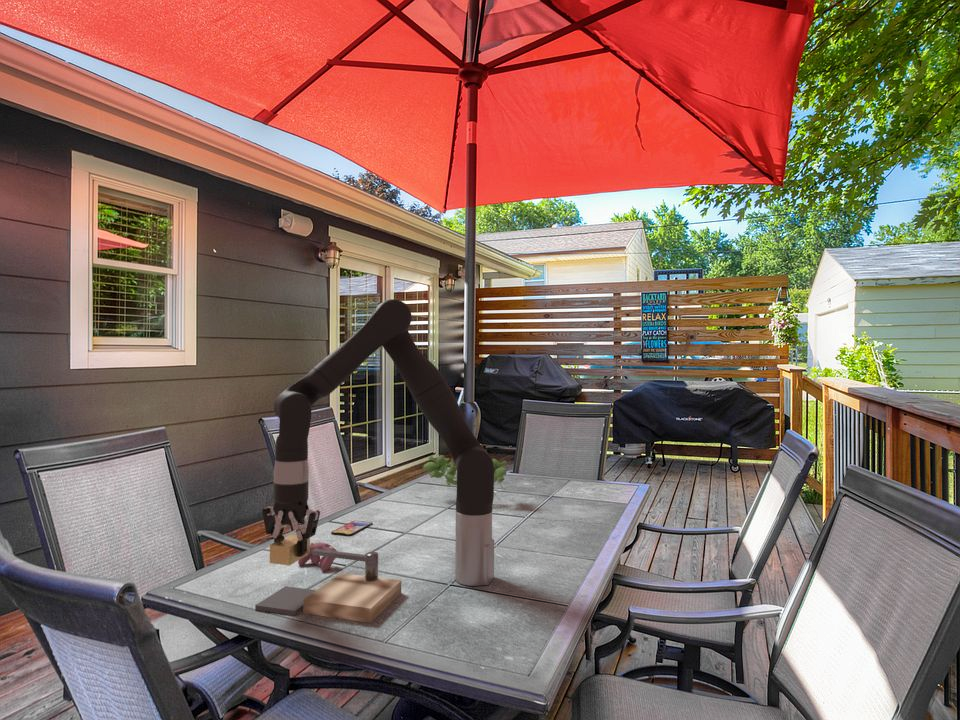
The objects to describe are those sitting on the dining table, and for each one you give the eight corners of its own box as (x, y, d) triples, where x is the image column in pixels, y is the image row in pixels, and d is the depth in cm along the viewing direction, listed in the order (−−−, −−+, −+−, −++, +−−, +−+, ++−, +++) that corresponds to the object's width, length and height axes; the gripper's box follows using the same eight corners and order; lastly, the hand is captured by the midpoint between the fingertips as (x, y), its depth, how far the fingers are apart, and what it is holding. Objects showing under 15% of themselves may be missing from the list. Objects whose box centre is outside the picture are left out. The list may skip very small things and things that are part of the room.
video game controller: (333, 574, 150) (342, 547, 152) (322, 571, 146) (331, 543, 149) (306, 567, 154) (315, 541, 157) (295, 564, 151) (304, 537, 154)
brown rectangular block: (309, 553, 131) (310, 536, 131) (289, 565, 124) (289, 547, 124) (291, 551, 133) (291, 534, 133) (269, 563, 125) (269, 544, 125)
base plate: (401, 593, 134) (401, 580, 134) (370, 622, 118) (370, 608, 118) (340, 585, 138) (340, 573, 138) (303, 613, 123) (303, 599, 123)
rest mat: (322, 595, 132) (322, 591, 132) (295, 615, 122) (295, 610, 122) (285, 590, 135) (285, 586, 135) (255, 609, 124) (255, 605, 124)
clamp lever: (380, 576, 135) (380, 552, 135) (374, 581, 132) (374, 556, 132) (317, 567, 141) (317, 544, 141) (309, 572, 138) (310, 548, 138)
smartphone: (373, 522, 191) (350, 534, 177) (373, 525, 191) (350, 537, 177) (354, 520, 193) (329, 532, 179) (354, 523, 193) (329, 535, 179)
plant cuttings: (433, 510, 235) (413, 486, 218) (443, 473, 244) (425, 447, 228) (514, 519, 222) (500, 494, 206) (521, 479, 232) (509, 453, 215)
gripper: (328, 478, 130) (327, 552, 130) (274, 474, 134) (273, 546, 134) (309, 485, 123) (308, 563, 123) (253, 480, 127) (252, 556, 127)
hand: (290, 554), depth 128 cm, fingers closed on brown rectangular block, 5 cm apart
